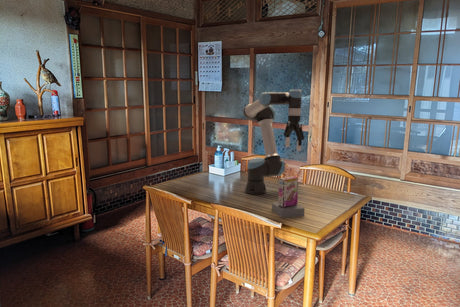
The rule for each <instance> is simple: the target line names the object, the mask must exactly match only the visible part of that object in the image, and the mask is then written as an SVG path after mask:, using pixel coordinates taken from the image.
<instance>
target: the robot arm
mask: <svg viewBox="0 0 460 307" xmlns="http://www.w3.org/2000/svg"><path fill="white" fill-rule="evenodd" d="M274 105H276V106H277V105H287V106H288V109H287V110H288V111H287V112H288V114H287V122H286V126H285V130H284V133H283V136H284V138H285V146H284V147H285V148H290V147H291V145H290V144H291V134H292V132H295V136H296V138H297V139H296V152H301V151H302V143H303V142H302V141H304V140H305V136H304V131H303V124H302V123H300V122H301V118H302V117H301V113H302V90H301V89H290V90H289V91H288V92H285V91H284V92H261V93H260V94H259V97H258V99H256V100H255V101H253V102H252V103H249V104H246V105H245V107H244V108H243V110H242V115H243V116H244V118H245V119H246V120H248V121H252V122H257V125H258V126H260V131H261V138H262V143H263V147H264V154H265V155H264V156H265V157H264V158H262V157H257V158H256V157H255V158H251V159H249V160H248V162H247V181H246V184H245V187H244V193H246V194H248V195H257V196H258V195H259V196H261V195H263V194H266V193H267V187H266V183H265V177H266V178H267V177H279V176H282V175H283V174H284V172H285V170H286V162H285V160H284V159H282V158H281V155H280V154H278V150H277V144H276V139H275V134H274V133H275V132H274V129H273V123H274V120H275V119H276V111H275V108H274Z"/></svg>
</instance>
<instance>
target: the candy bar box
mask: <svg viewBox="0 0 460 307" xmlns="http://www.w3.org/2000/svg"><path fill="white" fill-rule="evenodd" d="M298 186H299V177H297V176H287V177H280V178H278V189H277V190H278V192H277V193H278V198H277V202H278V206H281V207H288V206H293V205H297V204H298V199H299V198H298V196H299V195H298V194H299V192H298V190H299V187H298Z"/></svg>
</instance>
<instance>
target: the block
mask: <svg viewBox="0 0 460 307" xmlns="http://www.w3.org/2000/svg"><path fill="white" fill-rule="evenodd" d="M271 210H272V211H273V212H274V213H275V214H276V215H278V216H279V217H280V218H281V219H288V218H297V217H304V216H305V207H304V206H302V205H301V204H299V203H297V205H293V206H288V207H281V206H278V201H277V202H272V204H271Z"/></svg>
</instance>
